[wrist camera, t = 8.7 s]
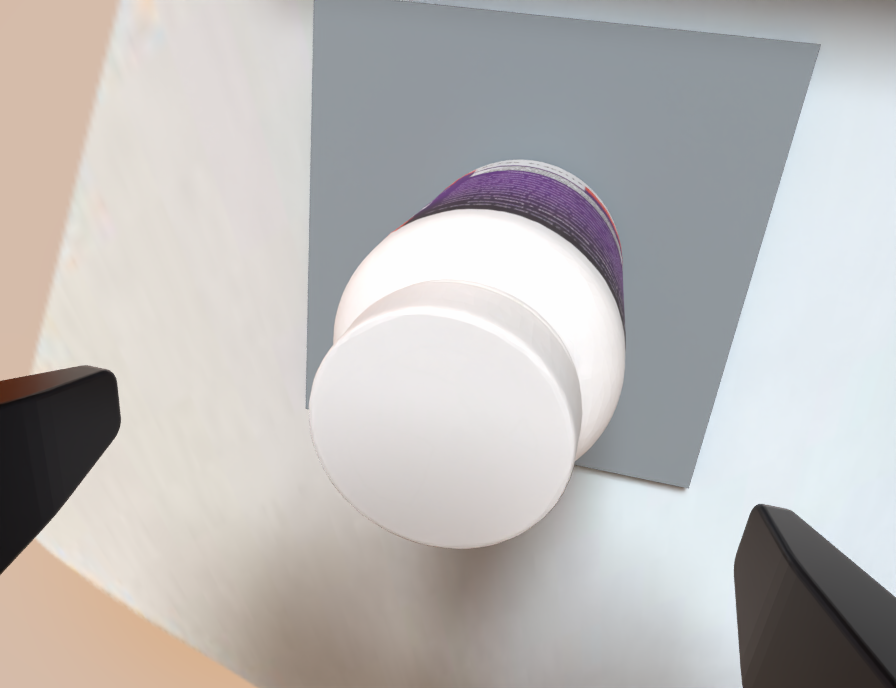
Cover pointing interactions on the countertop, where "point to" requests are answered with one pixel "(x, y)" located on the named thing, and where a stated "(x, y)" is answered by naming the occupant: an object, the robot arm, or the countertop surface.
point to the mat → (576, 151)
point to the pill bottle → (475, 358)
